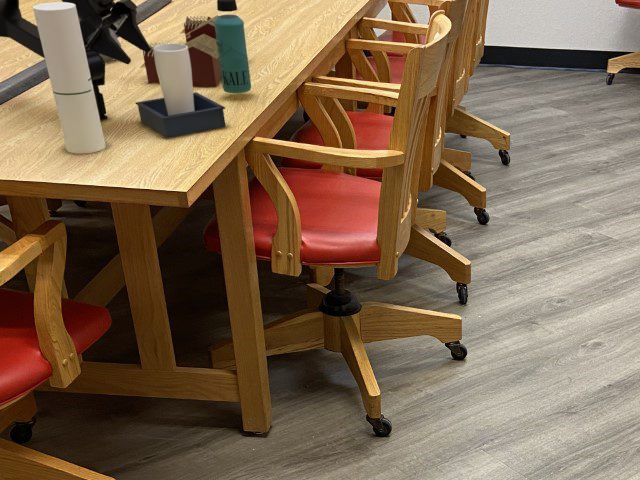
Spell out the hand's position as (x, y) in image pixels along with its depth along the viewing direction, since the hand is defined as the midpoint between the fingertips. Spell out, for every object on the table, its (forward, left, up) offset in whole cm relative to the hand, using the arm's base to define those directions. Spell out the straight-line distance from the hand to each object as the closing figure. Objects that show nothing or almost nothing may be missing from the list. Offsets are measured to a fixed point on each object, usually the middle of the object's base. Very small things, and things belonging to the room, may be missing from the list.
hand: (139, 56), depth 192 cm
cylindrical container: (-16, -7, -13) cm, 22 cm away
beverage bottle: (+24, +8, -13) cm, 28 cm away
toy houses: (+31, +40, -13) cm, 52 cm away
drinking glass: (+5, -4, -13) cm, 15 cm away
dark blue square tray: (+5, -4, -13) cm, 15 cm away
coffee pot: (+9, +53, -13) cm, 55 cm away
